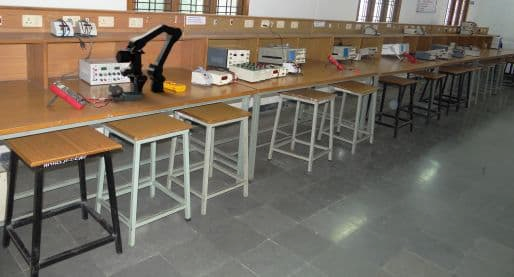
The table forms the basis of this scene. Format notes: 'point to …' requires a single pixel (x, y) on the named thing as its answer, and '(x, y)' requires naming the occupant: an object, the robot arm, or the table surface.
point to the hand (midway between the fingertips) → (136, 90)
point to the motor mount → (122, 94)
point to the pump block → (135, 87)
